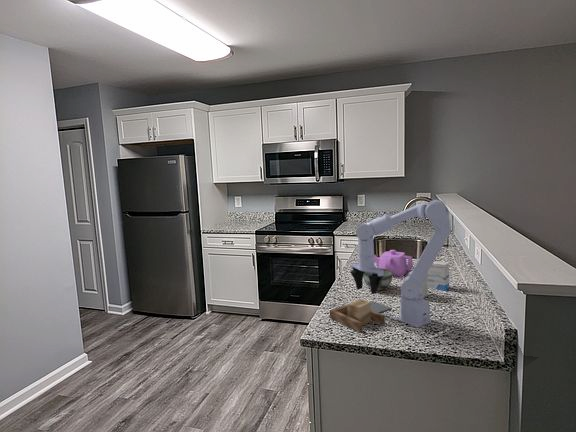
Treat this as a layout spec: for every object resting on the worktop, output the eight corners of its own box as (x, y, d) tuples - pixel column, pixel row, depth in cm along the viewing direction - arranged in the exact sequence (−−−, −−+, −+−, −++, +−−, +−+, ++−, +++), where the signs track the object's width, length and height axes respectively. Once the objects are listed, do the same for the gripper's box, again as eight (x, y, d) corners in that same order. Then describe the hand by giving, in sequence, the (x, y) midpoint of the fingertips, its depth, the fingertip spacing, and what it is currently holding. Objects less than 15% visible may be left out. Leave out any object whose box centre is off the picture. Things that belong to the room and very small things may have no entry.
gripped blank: (371, 320, 129) (370, 302, 128) (359, 327, 125) (358, 307, 124) (359, 317, 133) (359, 298, 132) (347, 323, 128) (347, 304, 127)
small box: (414, 292, 157) (414, 268, 156) (427, 294, 154) (427, 270, 152) (407, 297, 151) (407, 273, 150) (421, 300, 148) (421, 275, 146)
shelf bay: (384, 323, 126) (384, 315, 126) (359, 332, 120) (359, 323, 120) (354, 310, 139) (353, 303, 139) (330, 318, 133) (329, 310, 133)
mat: (391, 309, 139) (391, 307, 139) (372, 315, 134) (372, 314, 134) (372, 302, 148) (372, 300, 147) (354, 307, 142) (354, 306, 142)
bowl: (398, 288, 164) (398, 270, 163) (384, 296, 154) (384, 278, 153) (371, 282, 173) (371, 266, 172) (357, 290, 163) (356, 273, 162)
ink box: (449, 288, 160) (449, 262, 159) (445, 291, 156) (445, 265, 155) (430, 285, 166) (430, 260, 165) (425, 287, 162) (425, 262, 161)
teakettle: (387, 279, 177) (387, 255, 176) (370, 271, 194) (370, 248, 192) (417, 275, 182) (417, 251, 181) (398, 267, 198) (397, 245, 197)
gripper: (388, 256, 129) (389, 293, 131) (359, 250, 141) (359, 284, 143) (375, 260, 125) (376, 297, 127) (346, 253, 137) (347, 288, 139)
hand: (366, 291), depth 135 cm, fingers open, 7 cm apart
